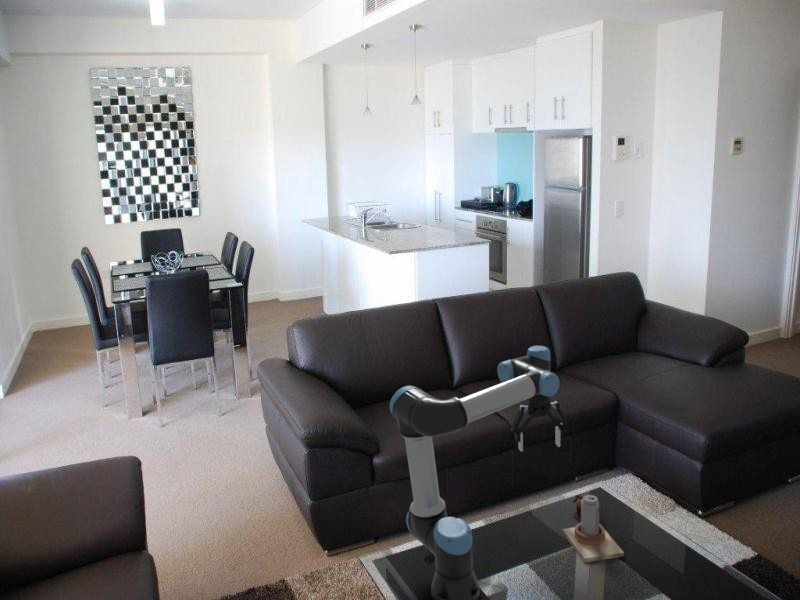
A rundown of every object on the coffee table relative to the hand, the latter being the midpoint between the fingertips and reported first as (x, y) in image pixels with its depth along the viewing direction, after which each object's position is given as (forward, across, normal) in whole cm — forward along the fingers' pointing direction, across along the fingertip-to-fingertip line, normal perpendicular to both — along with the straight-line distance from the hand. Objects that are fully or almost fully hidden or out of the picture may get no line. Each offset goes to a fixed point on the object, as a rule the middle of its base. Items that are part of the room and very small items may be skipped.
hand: (539, 447), depth 241 cm
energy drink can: (+30, +14, -12) cm, 35 cm away
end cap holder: (+32, +14, -14) cm, 37 cm away
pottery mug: (+32, +20, +4) cm, 38 cm away
